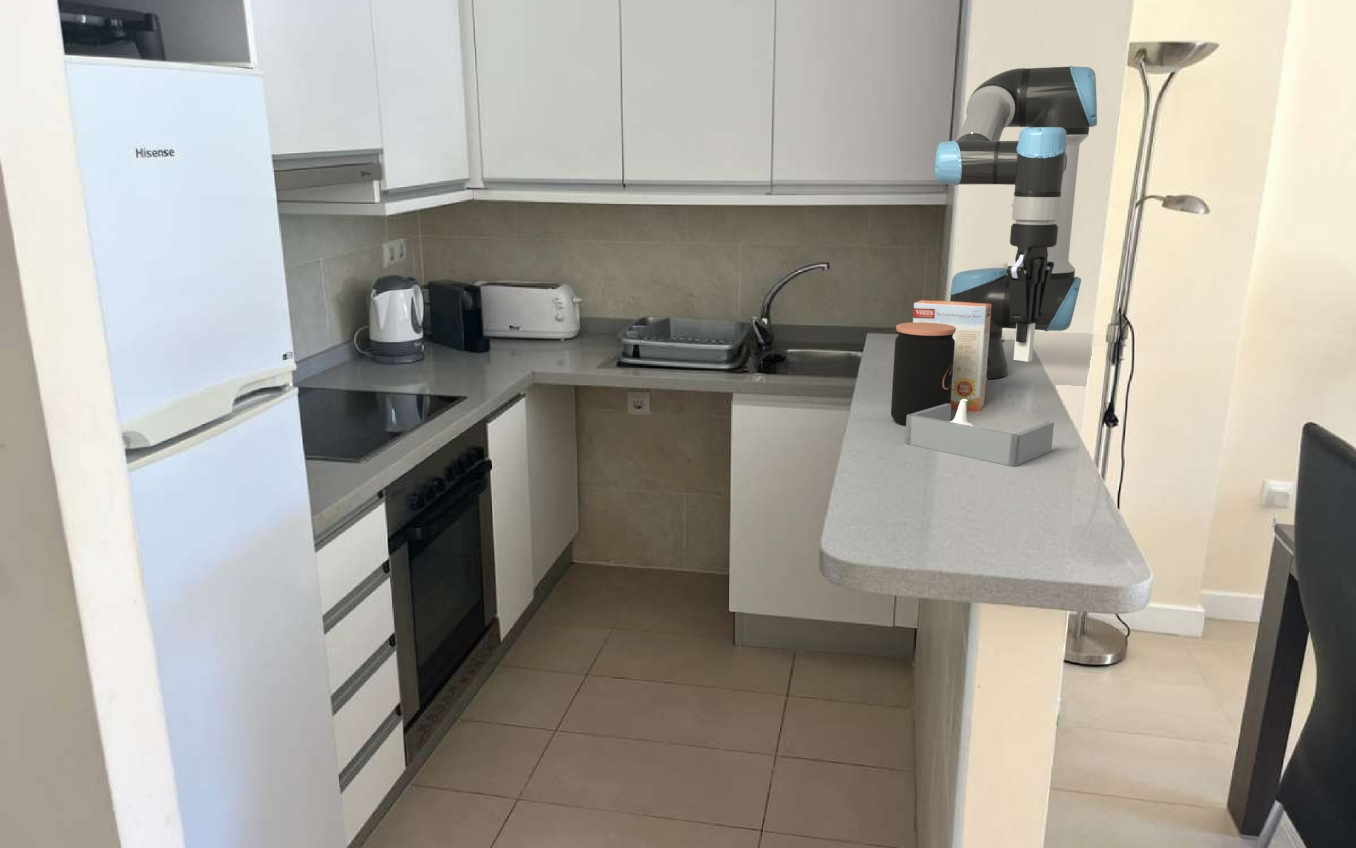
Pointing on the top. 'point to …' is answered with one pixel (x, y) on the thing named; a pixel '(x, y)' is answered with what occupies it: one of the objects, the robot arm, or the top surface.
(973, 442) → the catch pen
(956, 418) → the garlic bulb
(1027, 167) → the robot arm
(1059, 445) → the top surface
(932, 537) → the top surface
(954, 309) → the cracker box
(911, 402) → the coffee jar
